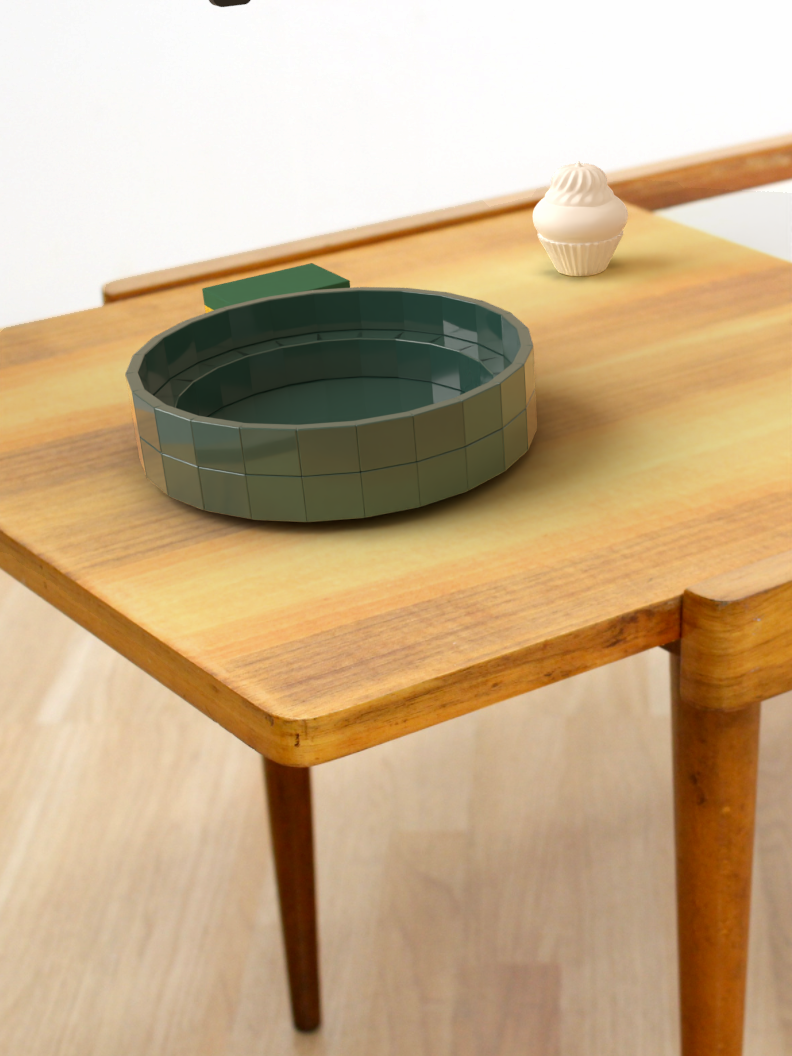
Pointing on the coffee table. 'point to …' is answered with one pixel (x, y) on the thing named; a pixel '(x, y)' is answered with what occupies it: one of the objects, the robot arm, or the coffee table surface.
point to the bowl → (333, 403)
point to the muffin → (580, 220)
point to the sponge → (272, 285)
